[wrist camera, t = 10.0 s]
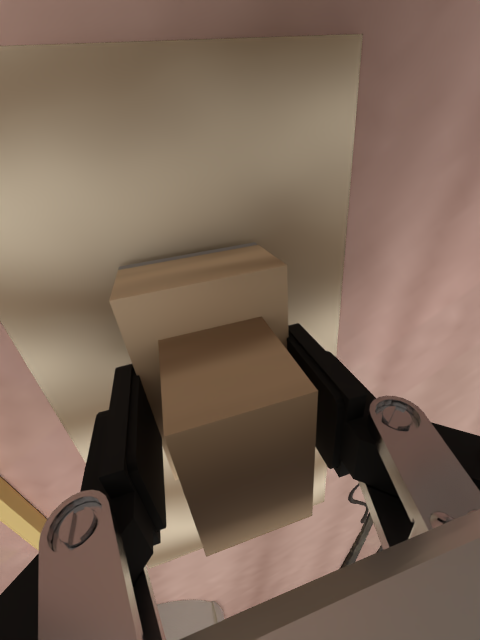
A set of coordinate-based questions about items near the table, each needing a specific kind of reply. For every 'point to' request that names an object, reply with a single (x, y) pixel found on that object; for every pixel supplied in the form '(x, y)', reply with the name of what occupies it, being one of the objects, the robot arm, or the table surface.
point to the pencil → (20, 515)
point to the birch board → (165, 195)
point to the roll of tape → (188, 617)
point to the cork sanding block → (223, 386)
